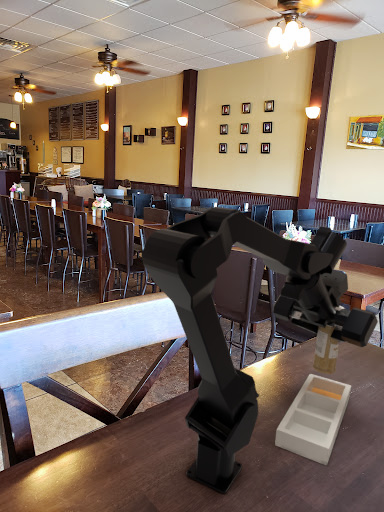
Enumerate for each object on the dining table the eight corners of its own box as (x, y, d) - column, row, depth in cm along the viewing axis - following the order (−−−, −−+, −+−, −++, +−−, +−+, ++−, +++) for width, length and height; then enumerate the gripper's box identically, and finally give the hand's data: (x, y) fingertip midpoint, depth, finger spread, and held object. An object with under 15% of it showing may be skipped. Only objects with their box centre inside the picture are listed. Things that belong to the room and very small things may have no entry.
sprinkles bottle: (337, 376, 77) (348, 311, 74) (314, 373, 77) (323, 308, 74) (332, 365, 81) (342, 303, 78) (310, 362, 82) (319, 301, 79)
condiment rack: (326, 465, 62) (329, 448, 61) (274, 445, 66) (276, 429, 65) (349, 397, 82) (351, 384, 82) (308, 385, 86) (310, 372, 86)
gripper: (382, 269, 65) (395, 318, 75) (286, 250, 78) (308, 294, 88) (354, 323, 61) (372, 368, 71) (259, 293, 75) (285, 334, 84)
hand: (332, 337), depth 79 cm, fingers closed on sprinkles bottle, 4 cm apart
